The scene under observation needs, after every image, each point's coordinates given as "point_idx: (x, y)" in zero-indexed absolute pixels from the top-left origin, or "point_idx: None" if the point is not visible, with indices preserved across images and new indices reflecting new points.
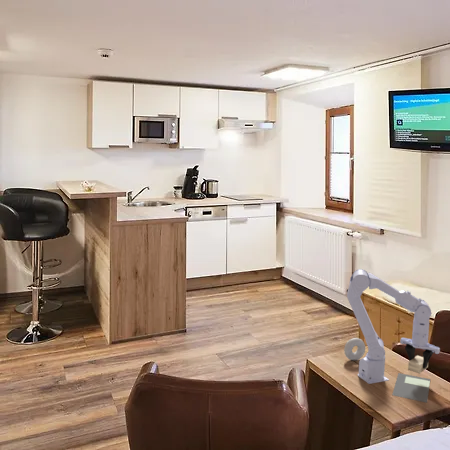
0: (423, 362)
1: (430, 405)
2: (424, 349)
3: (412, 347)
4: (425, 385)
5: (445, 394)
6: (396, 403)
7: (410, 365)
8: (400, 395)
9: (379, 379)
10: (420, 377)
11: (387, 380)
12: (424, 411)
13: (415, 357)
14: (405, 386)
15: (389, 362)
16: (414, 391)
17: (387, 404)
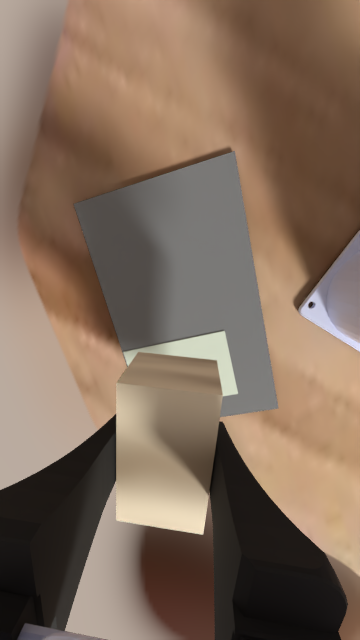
0: (108, 438)
1: (59, 199)
2: (45, 632)
3: (232, 629)
4: None
5: (59, 343)
6: (187, 84)
7: (201, 376)
8: (197, 182)
9: (347, 264)
10: None
11: (303, 302)
12: (53, 112)
13: (201, 498)
14: (208, 298)
15: (342, 484)
16: (157, 274)
17: (223, 25)
